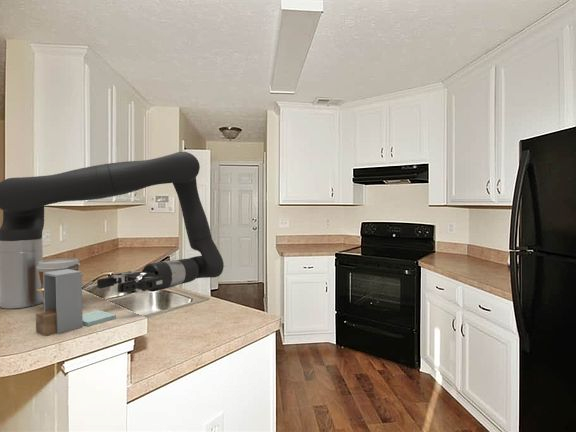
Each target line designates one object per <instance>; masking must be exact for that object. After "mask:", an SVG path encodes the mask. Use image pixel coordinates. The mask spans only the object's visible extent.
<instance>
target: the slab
mask: <svg viewBox="0 0 576 432" xmlns="http://www.w3.org/2000/svg"><path fill="white" fill-rule="evenodd" d="M82 318H83V325H84V326H87V327H90V326H93V325H98V324H100V323H101V324H102V323H104V322H107V321H112V320H115V319H117V314H114V313H111V312H108V311H104V310H99V309H97V310H95V311H91V312H90V311H89V312H87V313H82Z"/></svg>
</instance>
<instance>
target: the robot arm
mask: <svg viewBox="0 0 576 432" xmlns="http://www.w3.org/2000/svg"><path fill="white" fill-rule="evenodd" d="M200 168H201V165H200V161H199V160H198V159H197V157H196V156H195V155H193V154H191V153H190V152H187V151H177V152H174V153H171V154H168V155H167V154H166V155H164V156H159V157H155V158H152V159H145V160H129V161H118V162H110V163H104V164H103V163H102V164H97V165H90V166H87V167H86V166H85V167H81V168H77V169H72V170H68V171H64V172H60V173H55V174H49V175H48V174H47V175H38V176H26V177H25V176H24V177H9V178H6V179H3V180H1V181H0V210H2V224H1V226H0V308H2V309H22V308H28V307H32V306H33V307H34V306H36V305H40V304H42V303H44V299H43V293H42V291H37V290H36V289H37V288H40V287H41V281H40V276H39V271H38V269H37V268H36V267H37V266H38V263H39V262H40V261H44V260H43V259H44V257H43V254H44V253H43V252H44V251H43V231H44V226H45V206H47V205H49V206H50V205H53V204H56V203H62V202H63V203H64V202H78V201H80V202H81V201H92V200H100V199H106V198H112V197H117V196H122V195H126V194H129V193H133V192H135V191H139V190H142V189H145V188H148V187H151V186H152V187H153V186H158V185H164V184H165V185H166V184H172V185H173V187H174V190H175V193H176V194H177V198H178V201H179V205H180V208H181V212H182V217H183V222H184V226H185V227H184V228H185V230H186V231H185V232H186V234H187V238H188V242H189V246H190V248H191V249H192V250H194V251H197V252H198V253H200V255H198V256H192V257H189V258H180V259H175V260H164V261H158V262H157V261H156V262H151V263H147V264H146V265H145V266H144V267H143V269H142V271H141V270H136V271H124V272H120V273H119V272H118V273H111V274H109V277H103V278H99V279H97V281H96V284H97V288H98V289H104V288H109V287H115V286H116V287H117V292H118V293H120V294H121V293H123V294H124V293H127V292H132V291H135V292H136V291H137V292H138V291H141V292H146V291H149V292H159V291H163V290H166V289H170V288H174V287H176V286H179V285H182V284H183V285H184V284H187V283H191V282H192V281H195V280H196V279H204V278H205V279H207V278H213V279H214V278H218V277H220V276H221V275H222V273H223V271H224V267H225V266H224V259H223V257H222V255H221V253H220V250H219V249H218V247H217V245H216V244H215V242H214V240H213V238H212V233H211V228H210V225H209V221H208V218H207V215H206V213H205V209H204V208H203V205H202V201H201V199H200V194H199V191H198V185H197V184H198V183H197V176H198V174H199V173H200Z"/></svg>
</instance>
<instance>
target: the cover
mask: <svg viewBox="0 0 576 432" xmlns="http://www.w3.org/2000/svg"><path fill="white" fill-rule="evenodd" d="M82 273H83V272H82V271H81V270H78V271H76V270H71V269H65V270H58V271H51V272H44V273H43V285H44V299H43V312H45V311H49V310H54V309H56V322H57V333H56V334H62V333H65V332H69V331H72V330H76V329H79V328H82V327H83V318H82V314H83V276H82Z"/></svg>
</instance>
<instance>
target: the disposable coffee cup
mask: <svg viewBox="0 0 576 432" xmlns="http://www.w3.org/2000/svg"><path fill="white" fill-rule="evenodd" d="M74 264H78V265H79V266H78V269H80V266H81V263H80V261H79V259H78V258H73V257H71V258H70V257H65V258H61V257H60V258H50V259H44V260H43V261H40V262H39V263H38V266H37V267H36V268H37V269H38V271H39V276H40V281H41V284H43V273H44V272H51V271H58V270H62V269H64V268H67V267H69V266H72V265H74ZM71 270H76V271H77V267H75V268H72V269H71ZM42 293H43V300H44V291H42Z"/></svg>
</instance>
